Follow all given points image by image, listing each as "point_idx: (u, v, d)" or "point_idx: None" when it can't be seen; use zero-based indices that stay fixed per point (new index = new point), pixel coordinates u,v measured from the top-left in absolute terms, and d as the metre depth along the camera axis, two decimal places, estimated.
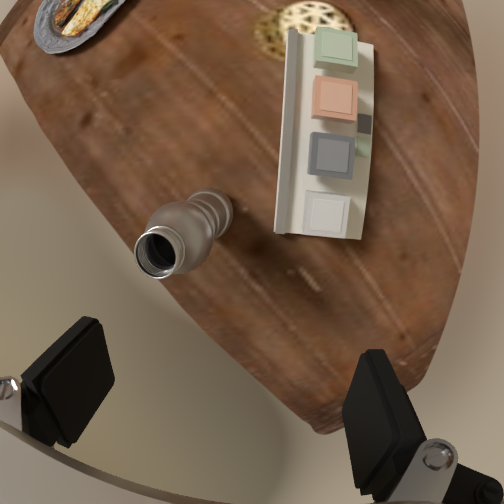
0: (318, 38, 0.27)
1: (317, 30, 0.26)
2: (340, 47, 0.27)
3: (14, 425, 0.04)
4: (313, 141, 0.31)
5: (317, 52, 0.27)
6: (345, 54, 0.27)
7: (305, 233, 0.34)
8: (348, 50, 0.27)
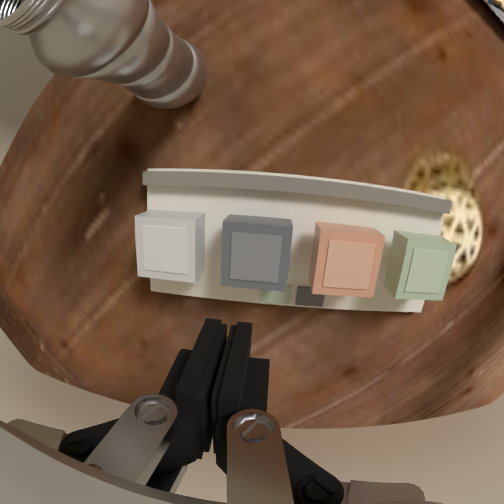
0: (439, 245, 0.20)
1: (450, 245, 0.20)
2: (424, 276, 0.21)
3: (138, 459, 0.04)
4: (276, 227, 0.21)
5: (419, 241, 0.20)
6: (414, 283, 0.21)
7: (136, 218, 0.21)
8: (419, 286, 0.21)
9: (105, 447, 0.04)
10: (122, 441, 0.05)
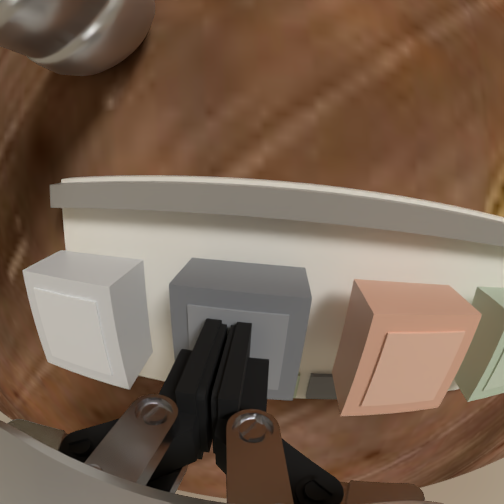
0: None
1: None
2: None
3: (138, 459, 0.04)
4: (278, 299, 0.10)
5: None
6: (499, 375, 0.09)
7: (25, 274, 0.10)
8: (502, 377, 0.09)
9: (105, 447, 0.04)
10: (123, 441, 0.05)
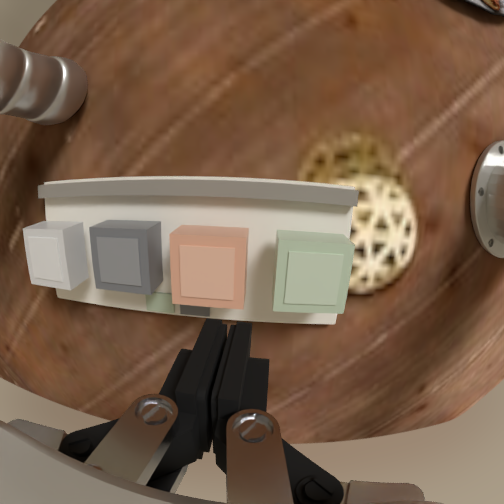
0: (326, 246, 0.18)
1: (346, 245, 0.18)
2: (310, 284, 0.19)
3: (138, 459, 0.04)
4: (132, 230, 0.20)
5: (296, 242, 0.18)
6: (296, 292, 0.19)
7: (24, 230, 0.19)
8: (305, 296, 0.19)
9: (105, 447, 0.04)
10: (123, 442, 0.05)
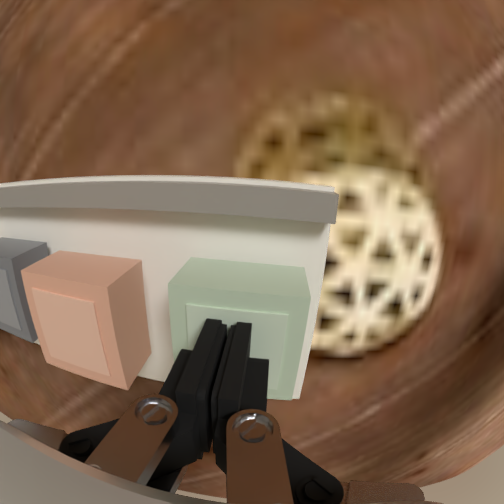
0: (254, 298, 0.10)
1: (294, 297, 0.10)
2: None
3: (138, 459, 0.04)
4: (0, 259, 0.11)
5: (197, 290, 0.10)
6: None
7: None
8: None
9: (105, 447, 0.04)
10: (123, 441, 0.05)
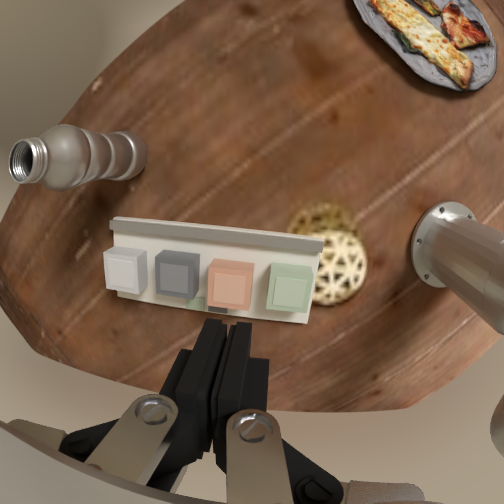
0: (297, 275, 0.34)
1: (308, 275, 0.34)
2: (287, 295, 0.34)
3: (138, 459, 0.04)
4: (184, 261, 0.34)
5: (280, 272, 0.34)
6: (279, 299, 0.35)
7: (104, 253, 0.34)
8: (284, 302, 0.35)
9: (105, 447, 0.04)
10: (123, 441, 0.05)
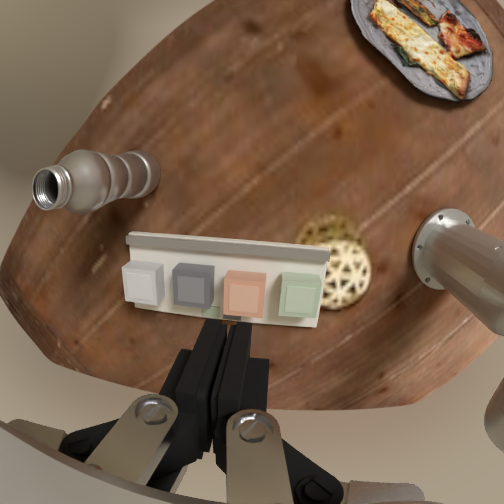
0: (306, 283, 0.36)
1: (317, 283, 0.36)
2: (297, 302, 0.37)
3: (138, 459, 0.04)
4: (200, 274, 0.37)
5: (291, 282, 0.36)
6: (291, 306, 0.37)
7: (122, 268, 0.36)
8: (295, 308, 0.37)
9: (105, 447, 0.04)
10: (122, 441, 0.05)
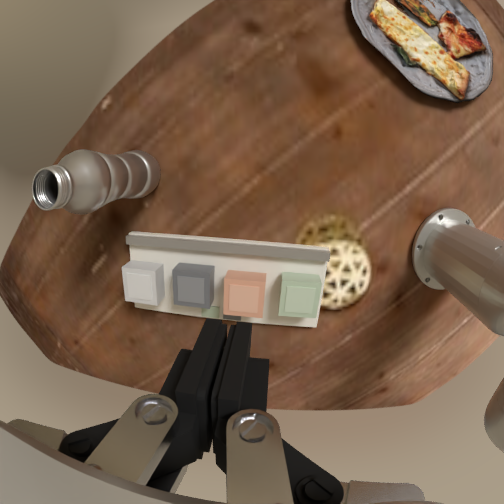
0: (306, 283, 0.36)
1: (317, 283, 0.36)
2: (297, 302, 0.37)
3: (138, 459, 0.04)
4: (200, 274, 0.37)
5: (291, 282, 0.36)
6: (291, 306, 0.37)
7: (122, 268, 0.36)
8: (295, 308, 0.37)
9: (105, 447, 0.04)
10: (122, 441, 0.05)
